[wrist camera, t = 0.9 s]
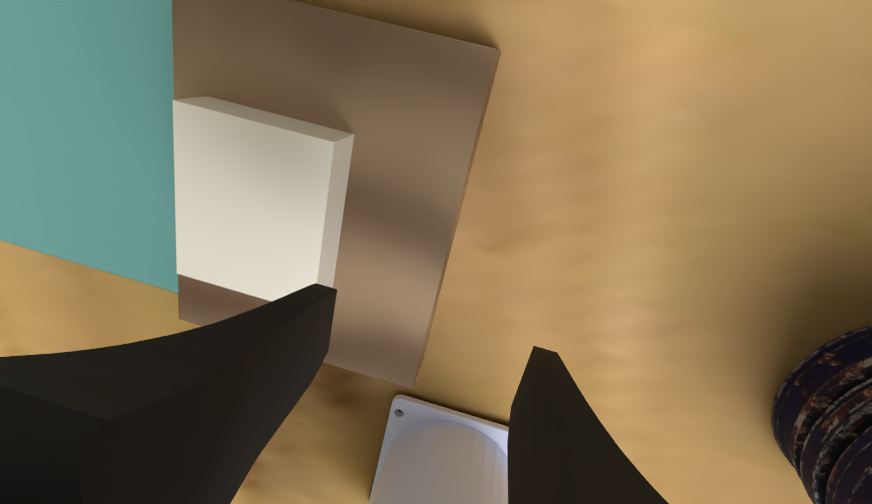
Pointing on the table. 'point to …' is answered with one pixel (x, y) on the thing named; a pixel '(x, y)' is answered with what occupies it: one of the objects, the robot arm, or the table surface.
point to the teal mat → (89, 134)
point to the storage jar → (830, 420)
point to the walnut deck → (370, 160)
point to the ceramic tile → (257, 197)
